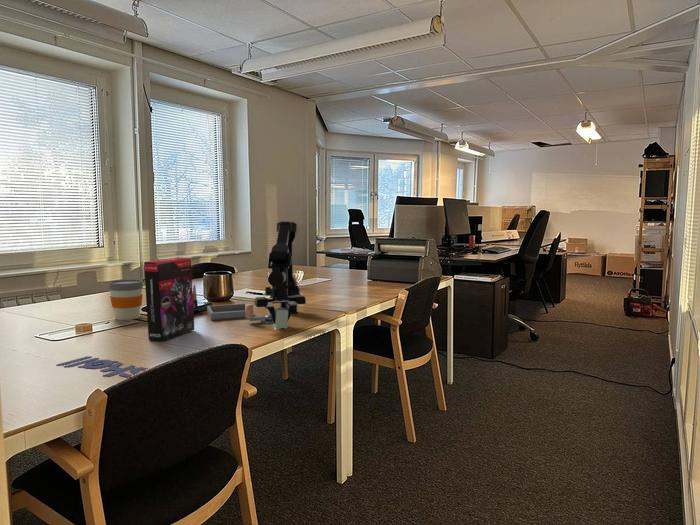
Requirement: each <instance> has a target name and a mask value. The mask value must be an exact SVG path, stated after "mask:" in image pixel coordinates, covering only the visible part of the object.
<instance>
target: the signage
mask: <svg viewBox="0 0 700 525" xmlns="http://www.w3.org/2000/svg"><path fill="white" fill-rule="evenodd" d="M71 363H72V364H71ZM55 365H56V366H58V367H63V368H70V367H71V368H74V367H77V368H79V369H85V370H98V369H99V370H100V372H102V373H106V374H103V375H102V377H104V378H105V377H107V378H108V377H109V378H111V377H113V376H117V375H118V376H119V377H121V378H127V379H128V377H131V376H132V375H135V374H137V373H139V372H141V371H143V370H146V369H148V368H149V367H141V366H140V367H137V366H136V365H133V364H131V365H129V366H126V367H124V368H122V366H123V365H125V364H124V363H122V362H119V361H118V360H111V359H100V358H99V357H93V356H91V355H90V356H89V355H87V356H83V357H79V358H75V359H72V360H69V361H65V362H60V363H56V364H55ZM64 365H65V366H64ZM135 367H136V368H135ZM128 371H129V373H130V374H129V373H126V372H128ZM107 372H108V373H107Z"/></svg>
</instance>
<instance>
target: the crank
mask: <svg viewBox="0 0 700 525" xmlns="http://www.w3.org/2000/svg"><path fill="white" fill-rule="evenodd" d="M244 319H248V321H249V322H254V321H257V322H259V321H261V320H266V321H271V320H272V318H271V315H270V313H268V314H264V315H257V316H254V305H253V304H250V303H249V304H248V303H247V305H245V318H244Z"/></svg>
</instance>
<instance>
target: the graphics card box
mask: <svg viewBox="0 0 700 525" xmlns="http://www.w3.org/2000/svg"><path fill="white" fill-rule="evenodd" d="M143 268H144V269H143V270H144V285H145V288H144V289H145V301H146V302H145V303H146V318H147V336H148V340H149V341H157V342H165V341H166V340H170V339H173V338H175V337H177V336H180V335H184V334H186V333H189V332H191V331H194V330H195V315H194V314H195V312H194V310H193V278H192V277H193V276H192V274H193V273H192V272H193V271H192V259H191V258H190V257H189V258H188V257H180V256H179V257H178V256H177V257H173V258H165V259H158V260H150V261H149V260H148V261H144V262H143Z"/></svg>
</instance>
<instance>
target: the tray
mask: <svg viewBox="0 0 700 525" xmlns="http://www.w3.org/2000/svg"><path fill="white" fill-rule="evenodd" d="M247 304H248V303H247V302H245V303H234V304H233V303H231V304H219V305H215V304H214V305H207V306H206V313H207V315H208V317H209V320H210V322H215V321H223V320H224V321H225V320H238V319H240V320H241V319H246V318H245V305H247Z"/></svg>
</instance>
